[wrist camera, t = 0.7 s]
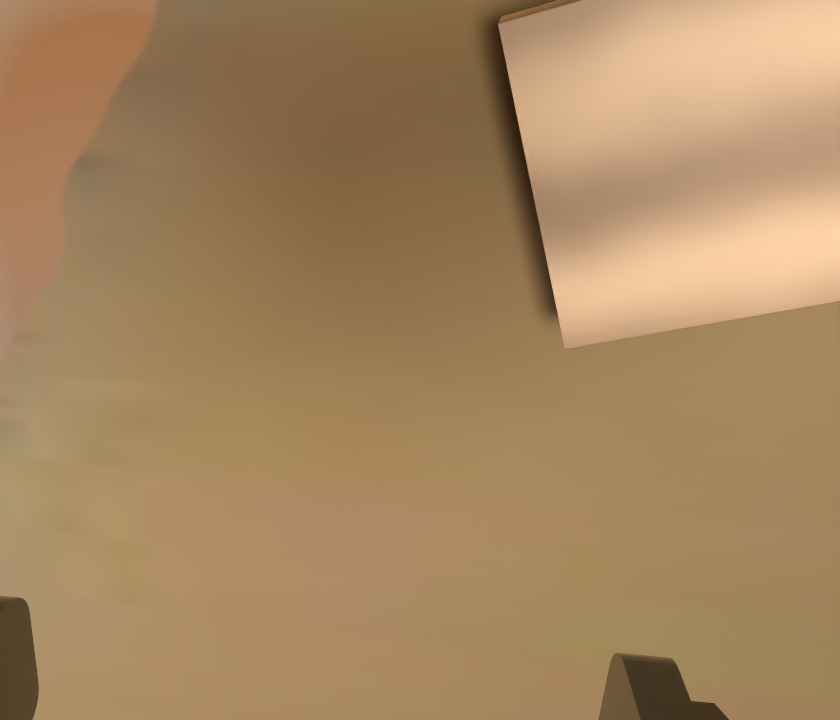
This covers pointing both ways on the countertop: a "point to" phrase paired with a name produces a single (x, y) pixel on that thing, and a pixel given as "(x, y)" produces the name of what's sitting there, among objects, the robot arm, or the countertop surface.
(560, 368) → the countertop surface
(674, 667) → the robot arm
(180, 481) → the countertop surface
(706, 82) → the base
